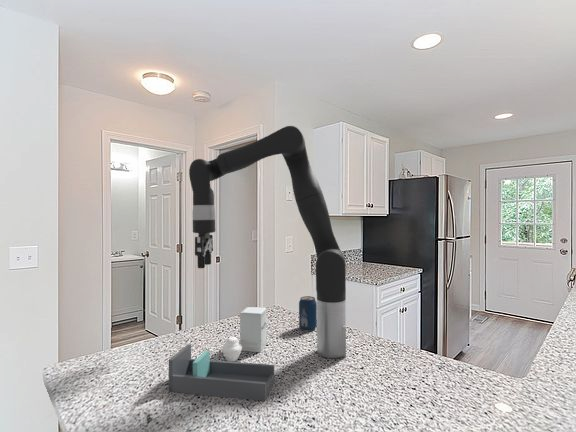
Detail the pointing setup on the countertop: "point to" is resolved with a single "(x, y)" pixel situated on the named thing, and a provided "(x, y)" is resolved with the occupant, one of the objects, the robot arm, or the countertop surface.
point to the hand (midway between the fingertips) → (204, 266)
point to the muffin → (232, 349)
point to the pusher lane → (220, 378)
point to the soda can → (307, 313)
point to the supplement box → (253, 329)
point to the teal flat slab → (202, 364)
